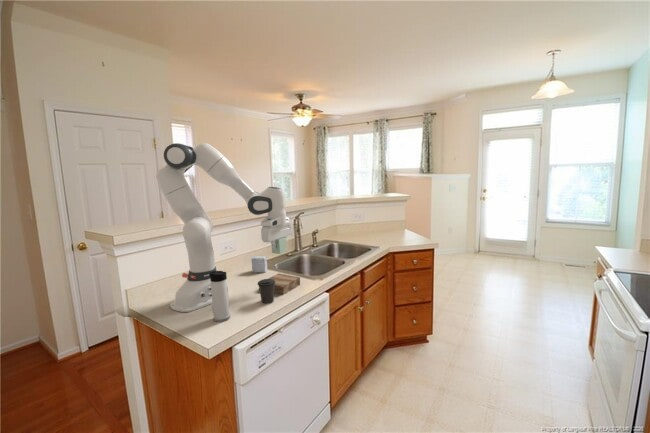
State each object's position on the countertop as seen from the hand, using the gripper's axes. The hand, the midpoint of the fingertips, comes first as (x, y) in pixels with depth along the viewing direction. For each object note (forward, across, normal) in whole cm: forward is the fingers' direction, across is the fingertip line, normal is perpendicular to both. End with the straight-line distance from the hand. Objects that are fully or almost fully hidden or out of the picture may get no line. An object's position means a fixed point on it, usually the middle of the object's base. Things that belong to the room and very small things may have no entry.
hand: (278, 247), depth 149 cm
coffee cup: (+21, +16, +5) cm, 27 cm away
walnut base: (+21, 0, 0) cm, 21 cm away
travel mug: (+21, +37, -1) cm, 43 cm away
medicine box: (+21, -14, -27) cm, 37 cm away
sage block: (+3, 0, 0) cm, 3 cm away
